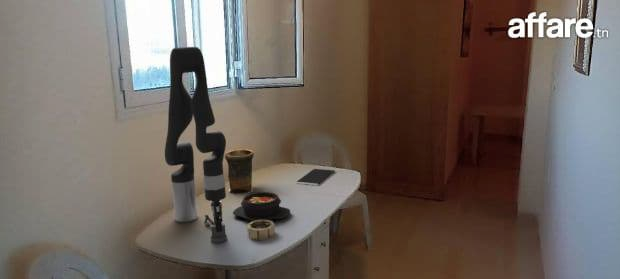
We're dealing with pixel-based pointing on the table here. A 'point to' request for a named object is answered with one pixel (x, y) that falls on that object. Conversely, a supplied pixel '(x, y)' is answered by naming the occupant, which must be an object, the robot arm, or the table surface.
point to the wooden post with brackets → (208, 220)
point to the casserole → (261, 207)
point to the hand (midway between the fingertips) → (218, 227)
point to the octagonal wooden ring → (260, 229)
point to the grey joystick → (218, 234)
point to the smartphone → (315, 177)
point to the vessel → (240, 171)
